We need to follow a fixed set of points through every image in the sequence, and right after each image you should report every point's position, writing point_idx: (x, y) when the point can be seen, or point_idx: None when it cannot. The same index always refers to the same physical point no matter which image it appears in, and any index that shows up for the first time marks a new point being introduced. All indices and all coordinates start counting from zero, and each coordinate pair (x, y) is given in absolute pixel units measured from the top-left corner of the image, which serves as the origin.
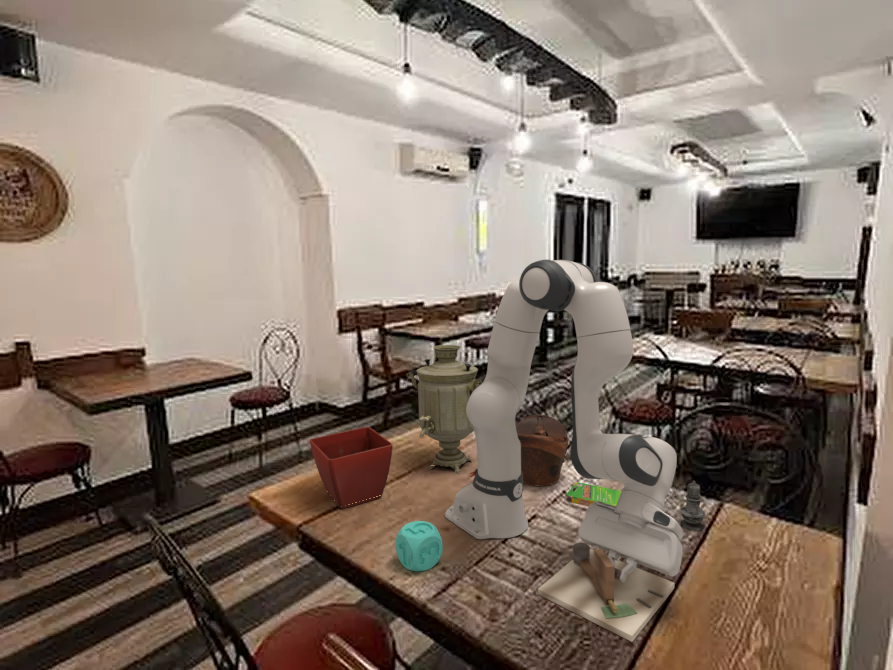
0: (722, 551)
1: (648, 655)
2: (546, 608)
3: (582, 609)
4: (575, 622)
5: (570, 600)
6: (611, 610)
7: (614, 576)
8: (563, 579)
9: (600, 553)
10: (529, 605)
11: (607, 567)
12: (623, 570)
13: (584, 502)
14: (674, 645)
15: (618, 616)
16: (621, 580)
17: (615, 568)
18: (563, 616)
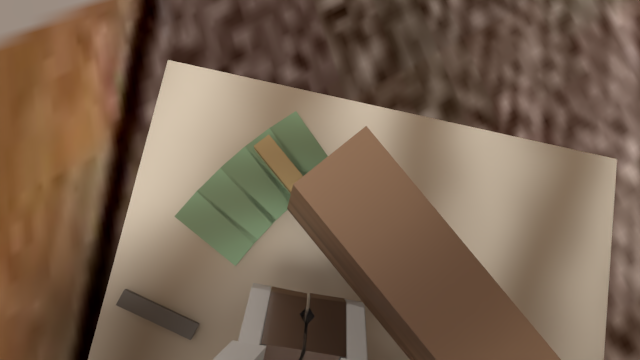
0: None
1: (104, 33)
2: (528, 100)
3: (404, 121)
4: (403, 77)
5: (470, 154)
6: None
7: (312, 293)
8: (558, 289)
9: (509, 357)
10: (587, 85)
11: (357, 136)
12: (248, 346)
13: None
14: (8, 135)
15: (249, 146)
16: (258, 284)
17: (320, 348)
18: (455, 88)
